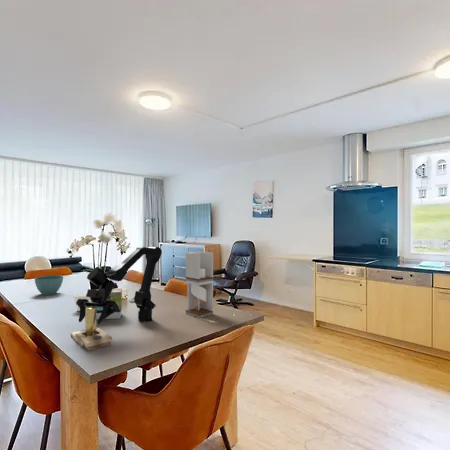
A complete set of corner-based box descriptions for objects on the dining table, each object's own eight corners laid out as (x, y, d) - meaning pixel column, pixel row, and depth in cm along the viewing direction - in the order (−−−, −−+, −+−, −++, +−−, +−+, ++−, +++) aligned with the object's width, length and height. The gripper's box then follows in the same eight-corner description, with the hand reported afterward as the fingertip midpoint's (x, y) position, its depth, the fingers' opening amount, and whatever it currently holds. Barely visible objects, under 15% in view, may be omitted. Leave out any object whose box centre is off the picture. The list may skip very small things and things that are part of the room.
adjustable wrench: (156, 306, 189) (157, 304, 189) (148, 308, 184) (148, 306, 184) (135, 300, 205) (135, 297, 205) (126, 301, 200) (126, 299, 200)
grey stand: (185, 313, 171) (186, 252, 172) (200, 310, 179) (200, 251, 179) (198, 318, 163) (198, 253, 164) (212, 314, 171) (213, 252, 171)
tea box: (90, 321, 158) (90, 292, 158) (93, 315, 167) (93, 289, 167) (120, 318, 162) (120, 291, 162) (121, 313, 171) (122, 287, 171)
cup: (84, 313, 172) (85, 296, 172) (69, 312, 174) (69, 296, 174) (95, 308, 182) (95, 293, 182) (81, 307, 184) (81, 292, 184)
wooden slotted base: (93, 331, 142) (93, 323, 142) (112, 344, 126) (112, 335, 126) (70, 336, 135) (70, 328, 135) (87, 350, 119) (87, 341, 119)
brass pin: (96, 337, 133) (96, 306, 133) (96, 341, 129) (96, 308, 129) (85, 339, 132) (85, 307, 132) (85, 342, 127) (85, 309, 128)
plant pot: (28, 295, 216) (28, 278, 216) (49, 290, 233) (50, 275, 233) (48, 297, 210) (48, 280, 211) (68, 292, 228) (68, 276, 228)
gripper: (78, 280, 137) (60, 311, 126) (115, 282, 132) (99, 314, 122) (90, 294, 144) (73, 324, 133) (125, 296, 140) (110, 327, 129)
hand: (88, 322), depth 129 cm, fingers open, 9 cm apart
